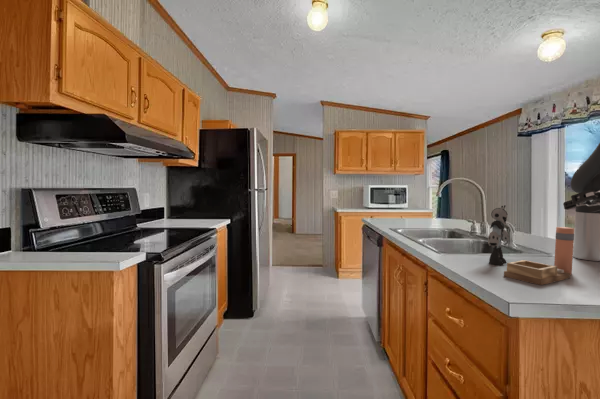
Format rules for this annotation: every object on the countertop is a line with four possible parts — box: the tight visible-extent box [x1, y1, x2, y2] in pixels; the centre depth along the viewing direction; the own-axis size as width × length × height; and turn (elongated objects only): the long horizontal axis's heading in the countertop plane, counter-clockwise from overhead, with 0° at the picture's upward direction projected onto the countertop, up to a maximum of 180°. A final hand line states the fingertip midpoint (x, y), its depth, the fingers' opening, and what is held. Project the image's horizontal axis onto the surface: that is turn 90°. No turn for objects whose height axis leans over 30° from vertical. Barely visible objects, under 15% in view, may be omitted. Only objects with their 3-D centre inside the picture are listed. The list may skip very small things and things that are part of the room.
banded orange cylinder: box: [553, 226, 575, 276], centre depth 107 cm, size 4×4×14 cm
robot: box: [487, 205, 510, 267], centre depth 119 cm, size 20×5×20 cm, turn 139°
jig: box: [503, 259, 571, 286], centre depth 102 cm, size 16×10×4 cm, turn 119°
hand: (577, 207), depth 101 cm, fingers open, 8 cm apart
